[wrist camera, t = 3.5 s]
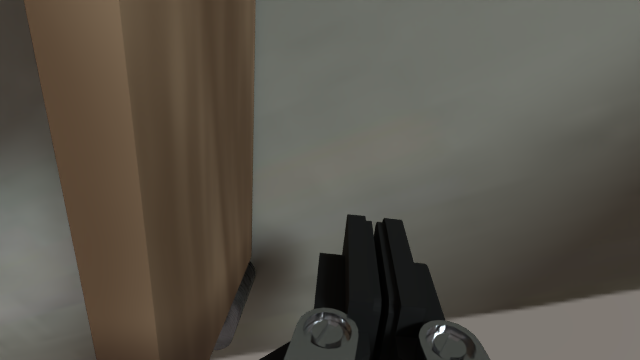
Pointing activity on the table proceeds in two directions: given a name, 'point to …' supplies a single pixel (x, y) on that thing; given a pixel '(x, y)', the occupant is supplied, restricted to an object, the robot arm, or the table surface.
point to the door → (152, 162)
